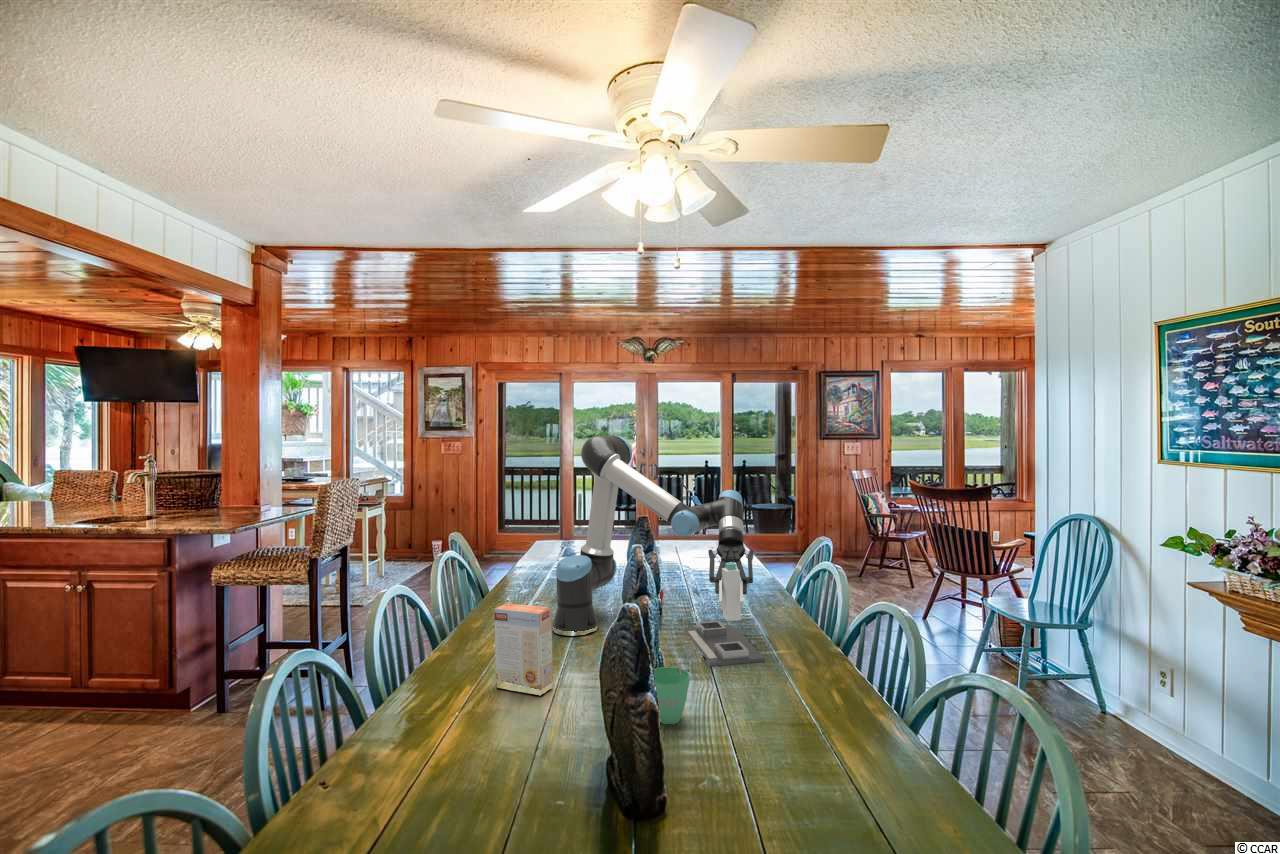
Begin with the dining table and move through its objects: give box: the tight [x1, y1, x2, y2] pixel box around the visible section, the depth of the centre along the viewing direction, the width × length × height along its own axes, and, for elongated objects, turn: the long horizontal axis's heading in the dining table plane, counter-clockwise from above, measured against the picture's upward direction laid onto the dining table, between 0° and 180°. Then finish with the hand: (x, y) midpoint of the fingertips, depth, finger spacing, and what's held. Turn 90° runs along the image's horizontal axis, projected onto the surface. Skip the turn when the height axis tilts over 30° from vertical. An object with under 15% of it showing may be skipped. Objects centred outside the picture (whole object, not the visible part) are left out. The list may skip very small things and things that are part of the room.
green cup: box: [653, 666, 691, 725], centre depth 138 cm, size 15×10×10 cm
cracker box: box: [493, 602, 554, 690], centre depth 157 cm, size 14×6×21 cm, turn 65°
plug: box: [721, 562, 742, 622], centre depth 175 cm, size 4×4×16 cm
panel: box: [683, 620, 766, 667], centre depth 184 cm, size 16×30×3 cm, turn 10°
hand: (731, 603), depth 171 cm, fingers closed on plug, 5 cm apart
